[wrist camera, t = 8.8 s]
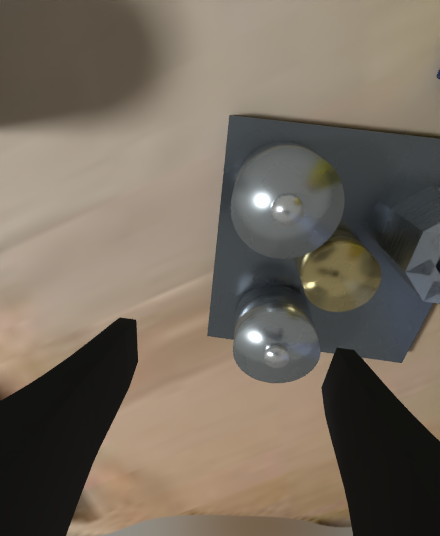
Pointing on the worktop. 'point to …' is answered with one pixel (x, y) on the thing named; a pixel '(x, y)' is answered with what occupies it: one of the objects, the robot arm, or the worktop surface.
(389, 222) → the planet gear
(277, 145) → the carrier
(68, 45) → the worktop surface
